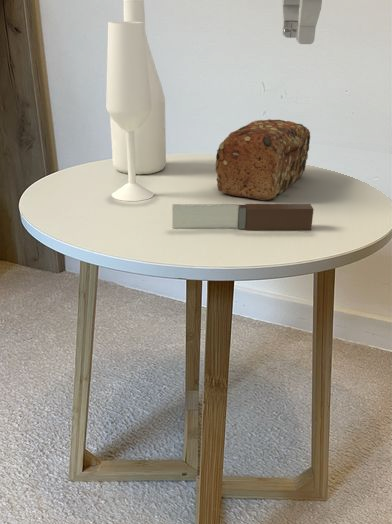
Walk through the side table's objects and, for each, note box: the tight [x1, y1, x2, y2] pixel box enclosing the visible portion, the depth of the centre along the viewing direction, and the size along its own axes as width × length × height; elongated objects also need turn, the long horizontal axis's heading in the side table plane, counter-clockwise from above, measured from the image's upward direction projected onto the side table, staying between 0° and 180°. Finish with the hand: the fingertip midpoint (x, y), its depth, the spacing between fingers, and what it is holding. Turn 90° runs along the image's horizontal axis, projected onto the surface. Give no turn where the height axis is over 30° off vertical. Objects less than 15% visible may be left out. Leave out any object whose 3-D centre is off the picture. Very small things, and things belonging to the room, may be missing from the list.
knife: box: [171, 203, 315, 231], centre depth 82 cm, size 19×2×3 cm, turn 92°
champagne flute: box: [105, 20, 155, 202], centre depth 89 cm, size 7×7×24 cm
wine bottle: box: [109, 0, 167, 175], centre depth 101 cm, size 10×10×30 cm
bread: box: [214, 118, 311, 201], centre depth 98 cm, size 19×11×10 cm, turn 155°
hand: (296, 40), depth 71 cm, fingers open, 8 cm apart
